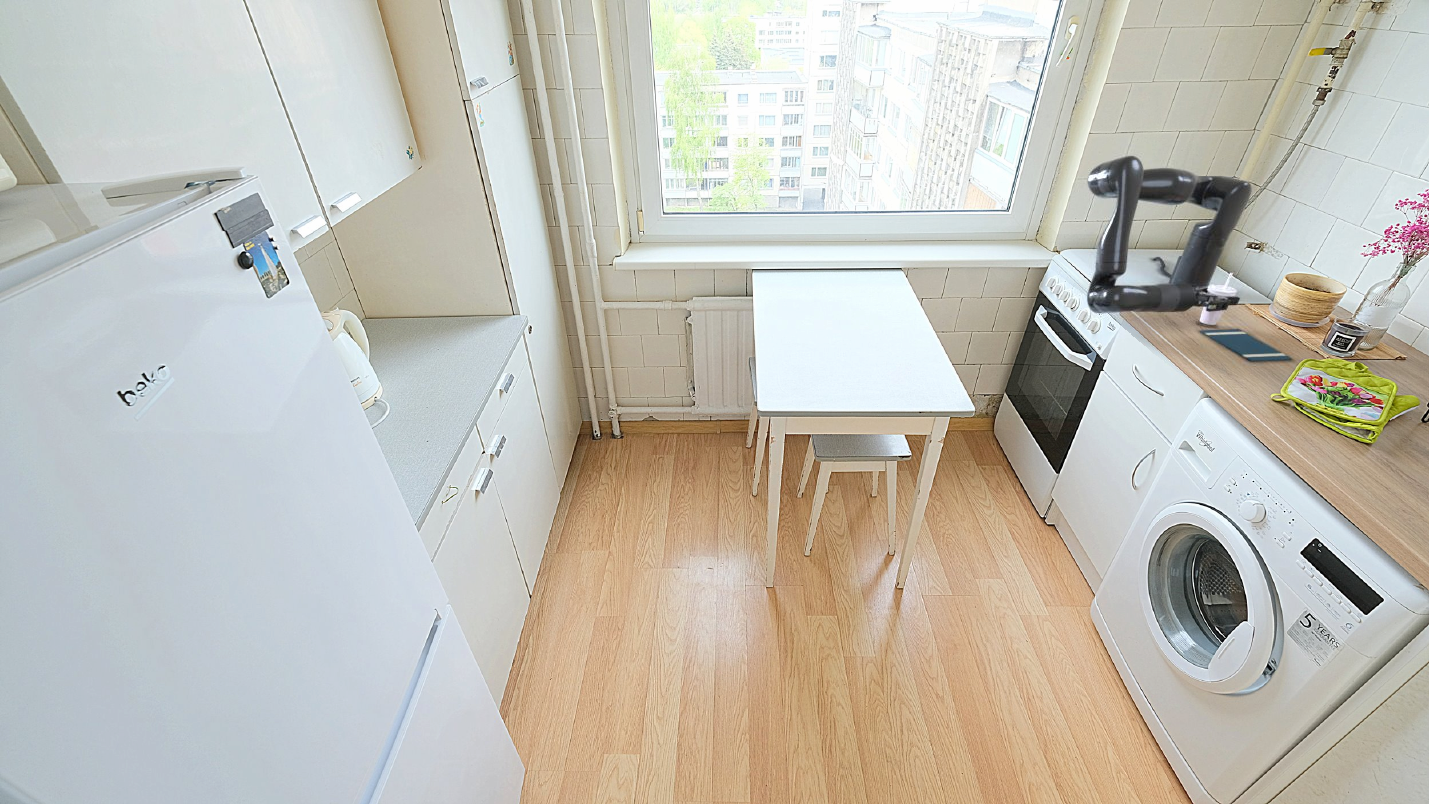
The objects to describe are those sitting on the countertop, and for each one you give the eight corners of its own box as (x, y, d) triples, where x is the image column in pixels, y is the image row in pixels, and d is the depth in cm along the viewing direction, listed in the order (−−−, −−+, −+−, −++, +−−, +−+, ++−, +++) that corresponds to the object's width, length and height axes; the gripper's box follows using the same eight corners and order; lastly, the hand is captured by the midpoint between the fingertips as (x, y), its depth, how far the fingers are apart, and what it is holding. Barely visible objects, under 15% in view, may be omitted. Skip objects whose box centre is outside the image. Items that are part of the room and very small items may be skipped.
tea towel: (1200, 331, 170) (1201, 330, 169) (1237, 330, 170) (1238, 329, 170) (1250, 361, 155) (1251, 360, 155) (1291, 359, 156) (1292, 358, 155)
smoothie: (1226, 327, 170) (1249, 277, 163) (1200, 325, 171) (1221, 276, 164) (1215, 318, 175) (1237, 269, 168) (1189, 316, 176) (1210, 267, 169)
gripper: (1192, 294, 160) (1255, 293, 161) (1155, 274, 172) (1214, 273, 173) (1181, 322, 164) (1243, 320, 165) (1145, 300, 176) (1203, 298, 177)
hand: (1227, 296), depth 169 cm, fingers closed on smoothie, 6 cm apart
